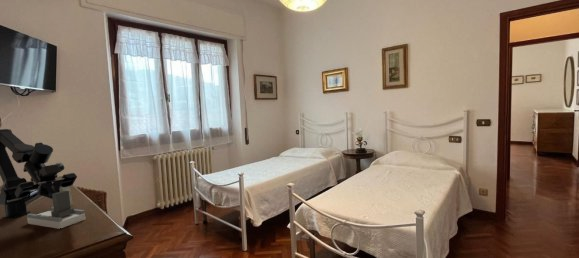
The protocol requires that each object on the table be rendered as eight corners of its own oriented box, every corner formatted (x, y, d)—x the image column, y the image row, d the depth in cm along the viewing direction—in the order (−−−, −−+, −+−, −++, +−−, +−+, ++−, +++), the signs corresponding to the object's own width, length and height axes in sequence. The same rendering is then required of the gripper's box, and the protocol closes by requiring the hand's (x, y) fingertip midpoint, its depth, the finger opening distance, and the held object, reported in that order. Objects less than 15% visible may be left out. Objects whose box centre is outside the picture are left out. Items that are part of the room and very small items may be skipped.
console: (27, 223, 108) (26, 213, 108) (54, 215, 117) (53, 206, 116) (59, 228, 101) (58, 218, 101) (85, 219, 109) (84, 209, 109)
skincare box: (73, 205, 129) (70, 179, 129) (64, 208, 125) (61, 182, 124) (61, 205, 130) (58, 180, 129) (52, 208, 126) (49, 182, 125)
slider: (51, 216, 106) (49, 193, 105) (66, 212, 110) (63, 190, 110) (59, 218, 104) (57, 194, 103) (74, 213, 108) (71, 190, 108)
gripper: (15, 162, 99) (37, 193, 96) (71, 153, 117) (91, 180, 113) (5, 182, 103) (26, 214, 99) (62, 171, 120) (81, 198, 117)
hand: (59, 200), depth 107 cm, fingers closed, pressing on slider
